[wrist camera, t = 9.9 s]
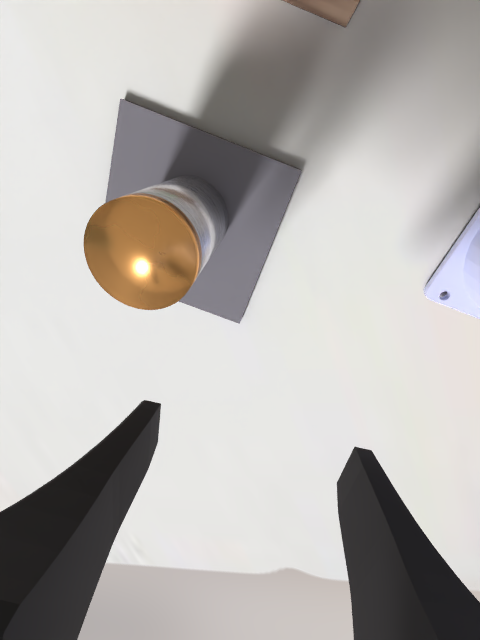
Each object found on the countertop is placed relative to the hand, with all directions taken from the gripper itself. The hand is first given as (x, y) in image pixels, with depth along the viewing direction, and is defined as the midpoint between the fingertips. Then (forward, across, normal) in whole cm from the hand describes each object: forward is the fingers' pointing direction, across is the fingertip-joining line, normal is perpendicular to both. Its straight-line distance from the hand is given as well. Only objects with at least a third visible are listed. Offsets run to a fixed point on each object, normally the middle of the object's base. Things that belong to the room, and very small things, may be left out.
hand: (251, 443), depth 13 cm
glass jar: (+9, +5, -5) cm, 12 cm away
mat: (+9, +5, -5) cm, 12 cm away
